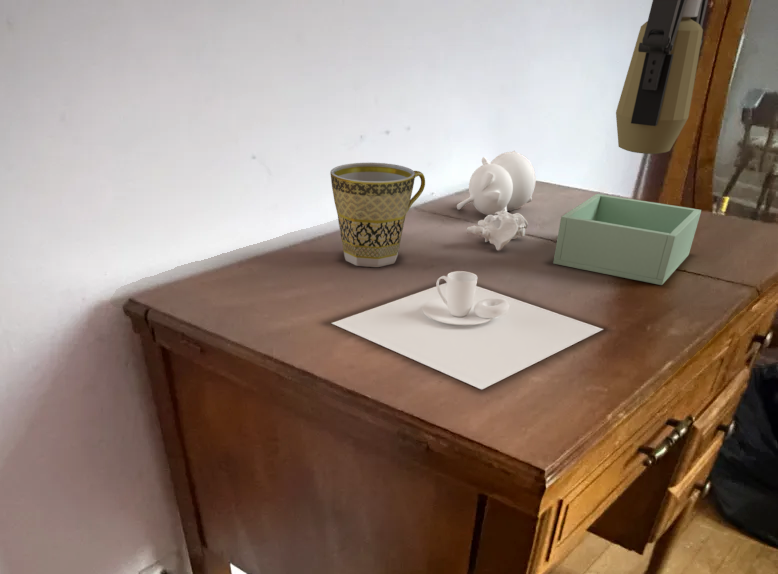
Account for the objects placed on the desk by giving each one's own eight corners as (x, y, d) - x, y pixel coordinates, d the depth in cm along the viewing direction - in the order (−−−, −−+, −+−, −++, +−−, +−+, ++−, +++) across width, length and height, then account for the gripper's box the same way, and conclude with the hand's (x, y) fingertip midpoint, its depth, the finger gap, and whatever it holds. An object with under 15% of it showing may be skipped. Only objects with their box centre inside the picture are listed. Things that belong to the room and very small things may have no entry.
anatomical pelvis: (488, 202, 98) (535, 205, 96) (487, 235, 101) (533, 238, 98) (465, 215, 93) (514, 218, 90) (464, 249, 95) (512, 253, 92)
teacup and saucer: (518, 317, 76) (523, 279, 74) (469, 338, 72) (474, 298, 69) (455, 295, 81) (458, 258, 79) (406, 313, 77) (408, 274, 74)
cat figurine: (489, 149, 98) (534, 134, 105) (434, 183, 106) (479, 167, 113) (512, 212, 101) (554, 194, 108) (456, 241, 109) (499, 222, 116)
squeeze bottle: (595, 144, 87) (632, -49, 75) (652, 141, 89) (697, -47, 77) (633, 158, 81) (679, -49, 69) (693, 155, 83) (748, -47, 71)
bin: (688, 255, 94) (701, 209, 91) (661, 285, 85) (675, 236, 81) (588, 237, 100) (596, 193, 96) (552, 263, 90) (561, 216, 87)
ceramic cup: (362, 277, 85) (363, 185, 79) (316, 254, 91) (314, 168, 85) (445, 258, 91) (452, 171, 85) (397, 238, 97) (400, 156, 91)
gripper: (701, -143, 77) (646, 104, 91) (648, -169, 63) (593, 128, 77) (777, -146, 74) (707, 110, 88) (739, -173, 60) (664, 136, 74)
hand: (654, 118), depth 82 cm, fingers closed on squeeze bottle, 8 cm apart
